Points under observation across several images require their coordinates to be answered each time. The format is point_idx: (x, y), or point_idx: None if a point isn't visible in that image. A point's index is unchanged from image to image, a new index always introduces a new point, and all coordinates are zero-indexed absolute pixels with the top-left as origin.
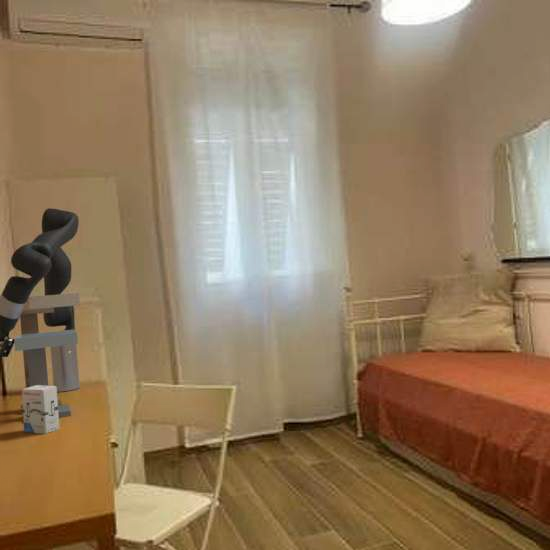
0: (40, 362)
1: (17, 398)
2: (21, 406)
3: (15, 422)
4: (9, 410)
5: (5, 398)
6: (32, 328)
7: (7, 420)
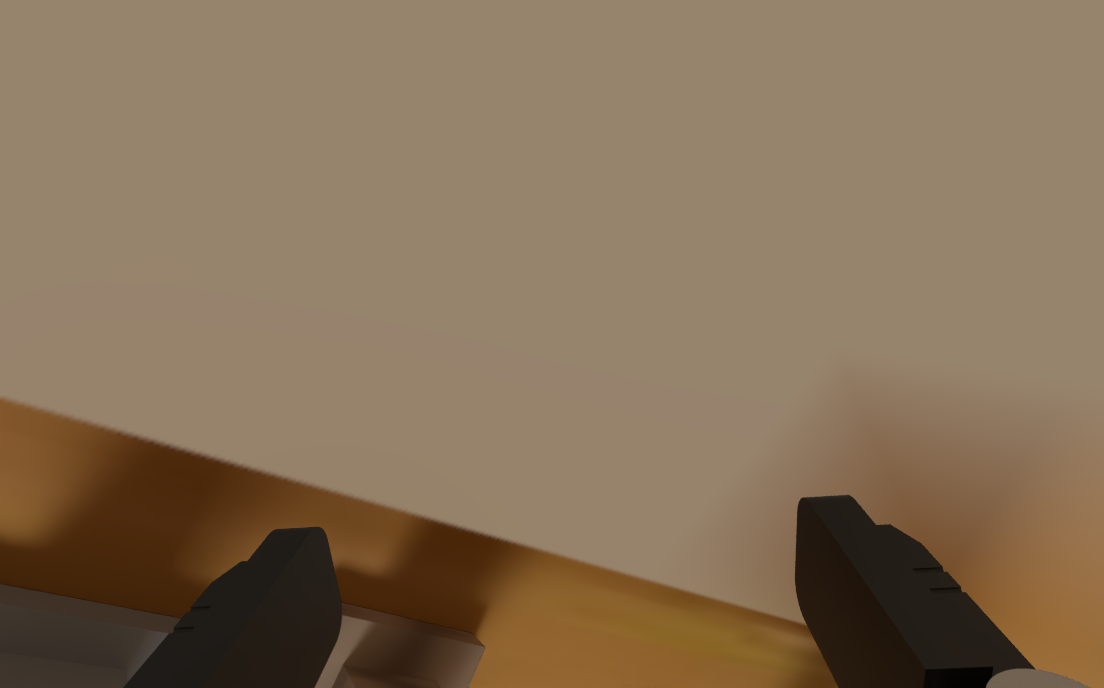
0: None
1: (738, 666)
2: (428, 637)
3: (42, 496)
4: (522, 573)
5: (784, 622)
6: None
7: (217, 479)
